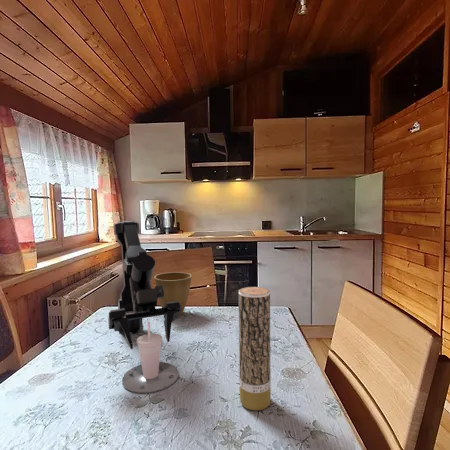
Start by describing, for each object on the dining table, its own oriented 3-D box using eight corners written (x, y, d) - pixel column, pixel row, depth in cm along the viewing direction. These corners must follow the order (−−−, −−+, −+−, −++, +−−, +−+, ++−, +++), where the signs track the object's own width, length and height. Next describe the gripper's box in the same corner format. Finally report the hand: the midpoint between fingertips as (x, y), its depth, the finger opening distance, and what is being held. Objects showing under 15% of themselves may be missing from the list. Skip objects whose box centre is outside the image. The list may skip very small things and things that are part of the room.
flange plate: (111, 391, 74) (111, 388, 74) (136, 362, 87) (136, 359, 87) (168, 395, 72) (168, 392, 72) (185, 365, 85) (184, 362, 85)
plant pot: (148, 318, 122) (147, 278, 122) (166, 307, 137) (165, 271, 136) (182, 322, 118) (181, 280, 117) (197, 310, 132) (197, 273, 131)
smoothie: (136, 383, 76) (133, 326, 75) (139, 370, 82) (137, 318, 82) (162, 380, 77) (160, 324, 76) (164, 367, 83) (162, 316, 82)
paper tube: (273, 396, 71) (272, 288, 69) (267, 415, 64) (266, 296, 63) (244, 391, 73) (243, 286, 72) (236, 408, 66) (234, 293, 65)
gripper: (107, 279, 78) (112, 338, 69) (179, 272, 86) (192, 324, 77) (106, 301, 86) (111, 357, 77) (172, 293, 94) (183, 343, 84)
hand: (150, 345), depth 78 cm, fingers open, 9 cm apart
